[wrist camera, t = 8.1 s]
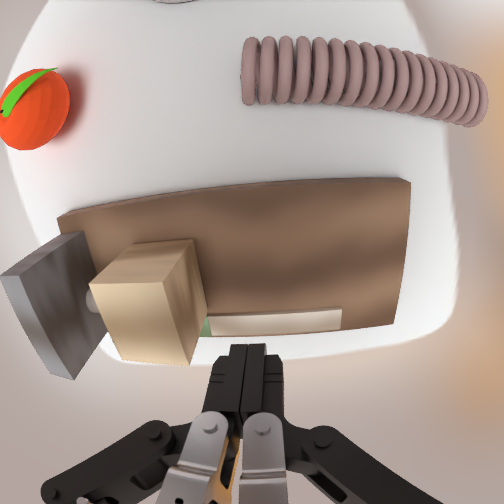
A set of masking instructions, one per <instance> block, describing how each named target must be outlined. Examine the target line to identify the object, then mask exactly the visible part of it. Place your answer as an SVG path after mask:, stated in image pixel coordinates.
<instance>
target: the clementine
mask: <svg viewBox="0 0 504 504" xmlns="http://www.w3.org/2000/svg"><path fill="white" fill-rule="evenodd" d="M54 69H57V68H53V69H33V70H30V71H28V72H26V73H23V74H21V75H20V76H18V77H17V78H16V79H15V80H14V81H12V82H11V83H10V84H9V85H8V87H7V88H6V89H5V91H4V93H3V95H2V97H1V98H0V137H1V138H2V139H3V140H4V142H5V143H6V144H7V145H8V146H10V147H13V148H15V149H18V150H33V149H36V148H38V147H41V146H42V145H44V144H46V143H47V142H49V141H50V140H51V139H52V138H53V137H54V136H55V135H56V134H57V133H58V132H59V130H60V129H61V128H62V126H63V124H64V122H65V120H66V118H67V115H68V112H69V107H70V94H69V90H68V87H67V84H66V82H65V81H64V79H63V78H62V77H61V76H60V75H59V74H57V73H56V72H54V71H52V70H54Z"/></svg>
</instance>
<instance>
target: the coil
mask: <svg viewBox="0 0 504 504" xmlns="http://www.w3.org/2000/svg"><path fill="white" fill-rule="evenodd" d="M296 47H297V73H296V71H295V64H294V54H293V42H292V39H291V38H290V37H288V36H283V37H281V39H280V41H279V56H278V49H277V43H276V40H275V39H274V38H273V37H271V36H267V37H265V38H264V39H263V40H262V44H260V42H259V40H258V39H257V38H255V37H250V38H247V39H246V41H245V43H244V46H243V52H242V68H241V75H240V79H241V86H242V100H243V103H244V104H246V105H252V104H253V103H254V102H255V79H256V86H257V93H258V99H259V101H260V103H262V104H264V105H267V104H269V103H270V102H271V100H272V94H273V96H274V99H275V101H276V102H277V103H278V104H285V103H286V102H287V101H288V99H289V97H290V99H291V101H292V102H293V103H294V104H301V103H303V102H304V100H305V99H306V101H307V102H309V103H310V104H314V105H315V104H318V103H320V102H321V101H322V102H323V103H325V104H326V105H333V104H335V103H338V104H340V105H341V106H349V105H351V104H353V105H354V106H356V107H359V108H362V107H366V106H368V107H369V108H371V109H379V108H381V109H383V110H386V111H392V110H395V111H397V112H399V113H406V112H407V113H409V114H411V115H420V116H422V117H426V118H427V117H431V118H433V119H436V120H443V121H445V122H452V123H454V124H456V125H462V126H464V127H474V126H476V125H478V124H479V123H480V122H481V121H482V120H483V118H484V117H485V115H486V112H487V108H488V93H487V89H486V86H485V84H484V82H483V81H482V79H481V78H480V77H479V76H478V75H477V74H475V73H473V72H469V71H467V70H465V69H463V68H458V67H457V66H455V65H451V64H450V65H449V64H448V63H446V62H444V61H438V60H436V59H434V58H431V57H429V58H426V57H425V56H424V55H421V54H415V55H414V54H413V53H412V52H410V51H402V52H401V51H400V50H399V49H397V48H389V49H387V48H386V47H385V46H383V45H376V46H374V47H373V46H372V45H371V44H370V43H366V42H364V43H361V44H360V45H358V44H357V43H356V42H355V41H352V40H348V41H346V42H345V43H344V45H343V44H342V42H341V41H340V40H339V39H335V38H334V39H331V40H330V41H329V42H328V46H327V43H326V41H325V40H324V39H323V38H321V37H317V38H315V39H314V40H313V42H312V63H313V72H314V82H313V85H312V80H311V74H310V72H311V48H310V42H309V40H308V38H306V37H304V36H301V37H298V39H297V41H296ZM380 59H381V84H380V83H379V62H380ZM394 60H395V62H393V61H394ZM365 66H366V72H365ZM328 78H329V83H330V88H329V90H328V88H327V82H328ZM436 79H437V83H436ZM435 84H436V91H435ZM393 85H394V92H393ZM343 89H345V93H344V92H343ZM358 94H359V95H360V96H359V95H358ZM406 95H407V97H406ZM418 100H419V101H418Z"/></svg>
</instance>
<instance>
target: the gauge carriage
mask: <svg viewBox="0 0 504 504" xmlns="http://www.w3.org/2000/svg"><path fill="white" fill-rule="evenodd" d="M89 286H90V288H89V289H88V291H87V294H86V304H87V307H88V309H89V310H90V311H91V312H93V313H100V314H101V316H102V319H103V321H104V323H105V325H106V328H107V330H108V332H109V334H110V336H111V338H112V340H113V343H114V345H115V347H116V349H117V351H118V353H119V355H120V357H121V359H122V360H127V361H136V362H145V363H155V364H167V365H181V366H189V365H190V362H191V359H192V356H193V353H194V350H195V347H196V344H197V341H198V338H199V336H200V333H201V330H202V327H203V324H204V321H205V318H206V315H207V312H208V308H207V304H206V299H205V295H204V290H203V285H202V281H201V276H200V271H199V266H198V261H197V256H196V251H195V246H194V241H193V239H186V240H174V241H163V242H151V243H140V244H131V245H130V246H129V247H128V248H127V249H126V250H125V251H123V252H122V253H121V254H120V255H119V256H118V257H117V258H116V259H115V260H113V261H112V262H111V263H110V264H109V265H108V266H107V267H106V268H105V269H104V270H103V271H102V272H100V273H99V274H98V275H97V276H96V277H95V278H94V279H93V280H92V281H91V282H90V283H89Z"/></svg>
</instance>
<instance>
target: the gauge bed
mask: <svg viewBox="0 0 504 504" xmlns="http://www.w3.org/2000/svg"><path fill="white" fill-rule="evenodd" d="M410 196H411V182H408V181H406V180H404V179H401V178H333V179H309V180H292V181H277V182H264V183H252V184H241V185H231V186H222V187H213V188H204V189H196V190H189V191H181V192H174V193H167V194H160V195H154V196H147V197H141V198H135V199H129V200H124V201H118V202H113V203H107V204H102V205H97V206H92V207H87V208H83V209H78V210H73V211H69V212H67V213H65V214H63V215H61V216H60V217H58V218H57V221H58V225H59V229H60V232H61V234H60V235H59V236H57V237H56V238H54V239H52V240H51V241H49V242H48V243H46V244H45V245H43V246H41V247H40V248H38V249H37V250H35V251H34V252H32V253H31V254H29V255H28V256H27V257H25V258H24V259H22V260H21V261H19V262H18V263H16V264H15V265H14V266H13V267H11V268H10V269H8V270H7V271H6V272H4V273H3V274H1V275H0V280H1V282H2V285H3V287H4V289H5V292H6V294H7V296H8V298H9V301H10V303H11V305H12V307H13V309H14V311H15V313H16V315H17V317H18V319H19V321H20V323H21V325H22V327H23V329H24V331H25V333H26V334H27V336H28V338H29V340H30V342H31V343H32V345H33V347H34V348H35V350H36V352H37V353H38V355H39V357H40V358H41V360H42V361H43V363H44V364H45V366H46V368H47V369H48V371H49V372H50V373H51V374H54V375H57V376H60V377H64V378H67V379H70V380H75V378H76V377H77V375H78V374H79V372H80V371H81V369H82V368H83V366H84V365H85V363H86V361H87V360H88V359H89V357H90V356H91V354H92V353H93V351H94V350H95V349H96V347H97V346H98V344H99V343H100V341H101V340H102V339H103V337H104V336H105V334H106V333H107V332H108V330H107V328H106V325H105V323H104V321H103V319H102V316H101V314H100V313H93V312H91V311H90V310H89V309H88V307H87V304H86V294H87V291H88V289H89V288H90V286H89V283H90V282H91V281H92V280H93V279H94V278H95V277H96V276H97V275H98V274H99V273H100V272H102V271H103V270H104V269H105V268H106V267H107V266H108V265H109V264H110V263H111V262H112V261H113V260H115V259H116V258H117V257H118V256H119V255H120V254H121V253H122V252H123V251H125V250H126V249H127V248H128V247H129V246H130V245H131V244H140V243H151V242H163V241H174V240H186V239H193V241H194V246H195V251H196V256H197V261H198V266H199V271H200V276H201V281H202V285H203V290H204V295H205V299H206V304H207V308H208V312H207V315H206V318H205V321H204V324H203V327H202V330H201V333H200V336H199V337H251V336H277V335H295V334H309V333H321V332H332V331H342V330H352V329H360V328H368V327H376V326H383V325H390V324H393V323H394V318H395V314H396V309H397V304H398V299H399V293H400V288H401V282H402V276H403V269H404V262H405V255H406V247H407V237H408V227H409V214H410Z"/></svg>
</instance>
